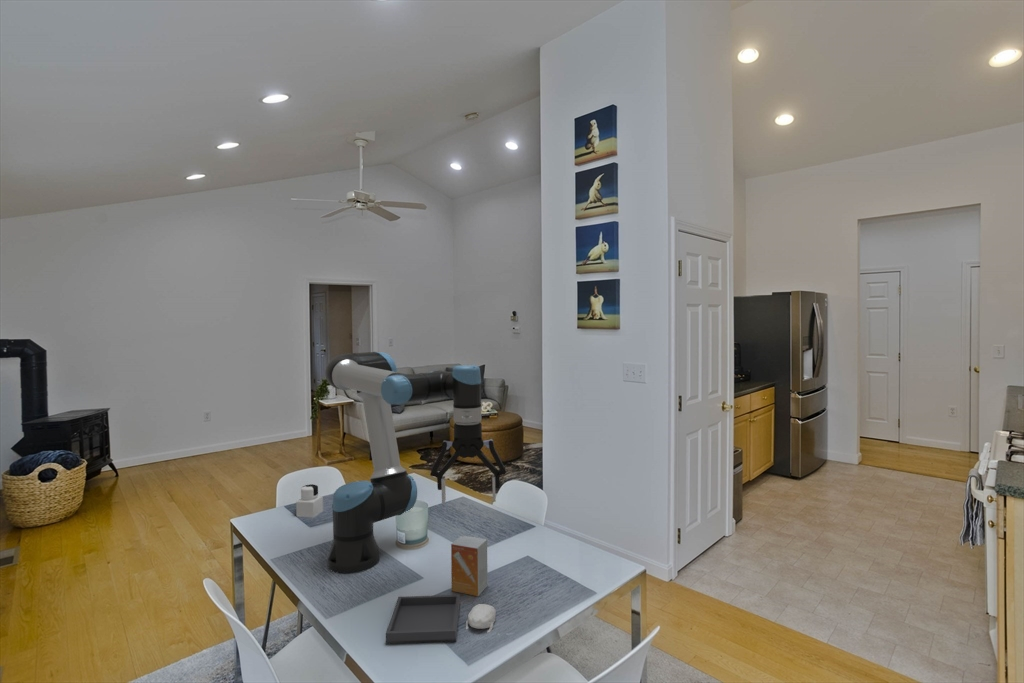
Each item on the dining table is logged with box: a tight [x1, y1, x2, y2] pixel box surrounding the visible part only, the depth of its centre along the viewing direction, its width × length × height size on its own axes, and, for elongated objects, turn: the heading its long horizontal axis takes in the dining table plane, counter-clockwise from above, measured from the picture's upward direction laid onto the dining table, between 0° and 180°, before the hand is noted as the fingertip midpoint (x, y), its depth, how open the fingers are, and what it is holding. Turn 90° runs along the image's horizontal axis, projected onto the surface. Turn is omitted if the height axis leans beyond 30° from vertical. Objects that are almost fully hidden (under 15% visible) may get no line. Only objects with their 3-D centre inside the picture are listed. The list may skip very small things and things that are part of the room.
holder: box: [385, 594, 461, 645], centre depth 120 cm, size 16×16×2 cm
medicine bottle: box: [295, 484, 324, 519], centre depth 191 cm, size 7×7×12 cm
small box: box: [450, 535, 489, 597], centre depth 136 cm, size 8×6×13 cm
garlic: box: [465, 603, 497, 634], centre depth 120 cm, size 8×7×4 cm
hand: (469, 500), depth 136 cm, fingers open, 13 cm apart
